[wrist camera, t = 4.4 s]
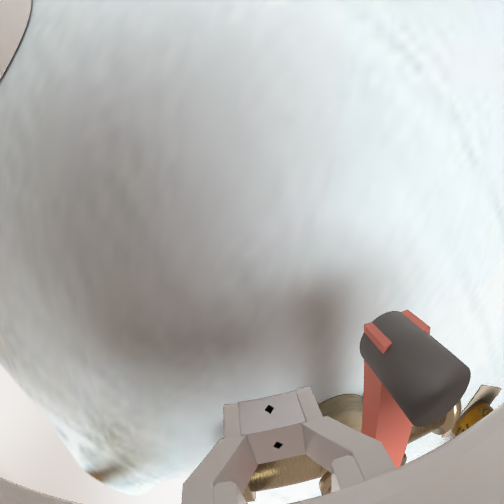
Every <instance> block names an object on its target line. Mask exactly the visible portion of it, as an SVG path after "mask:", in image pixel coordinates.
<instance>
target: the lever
mask: <svg viewBox="0 0 504 504" xmlns="http://www.w3.org/2000/svg"><path fill="white" fill-rule="evenodd" d="M360 353H361V355H362V357H363V358H364V396H363V415H362V429H361V433H363V434H365V435H367V436H369V437H372V438H374V439H376V440H378V441H380V442H382V444H383V446H384V448H385V449H386V451H387V453H388V455H389V456H390V458H391V460H392V462H393V463H394V465H395V467H396V468H398V467H400V465H401V462H402V459H403V456H404V453H405V450H406V446H407V443H408V440H409V436H410V433H411V429H412V425H414V426H416V427H423V426H427V425H430V424H432V423H434V422H436V421H437V420H439V419H441V418H442V417H443V416H445V415H446V414H447V413H448V412H449V411H450V410H451V409H452V408H453V407H454V406H455V405H456V404H457V403H458V401H459V400H460V399H461V397H462V396H463V394H464V393H465V391H466V389H467V387H468V384H469V381H470V369H469V368H468V367H467V366H466V365H465V364H464V363H463V362H461V361H460V360H459V359H458V358H457V357H456V356H454V355H453V354H452V353H451V352H450V351H449V350H447V349H446V348H445V347H444V346H443V345H441V344H440V343H439V342H438V341H437V340H435V339H434V338H433V337H432V336H431V335H430V327H429V326H428V325H427V324H425V323H424V322H423V321H422V320H420V319H419V318H418V317H416V316H415V315H414V314H413V313H411V312H410V311H409V310H405V311H403V312H398V311H392V312H387V313H385V314H382V315H381V316H379V317H378V318H376V319H375V320H374V321H373V322H371V323H368V324H365V325H364V334H363V336H362V338H361V342H360Z"/></svg>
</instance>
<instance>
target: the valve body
mask: <svg viewBox="0 0 504 504" xmlns="http://www.w3.org/2000/svg"><path fill="white" fill-rule="evenodd" d="M319 409H320V411H321V413H322V416H323V417H325V416H328V417H330V418H332V419H334V420H336V421H338V422H340V423H342V424H344V425H346V426H348V427H350V428H352V429H354V430H357V431H359V432H361V429H362V415H363V397H361V396H359V395H355V394H345V395H340V396H336V397H333V398H331V399H329V400H327V401H325V402H323V403H321V404H320V405H319ZM460 417H461V401H460V400H459V401H458V403H457V404H456V405H455V406H454V407H453V408H452V409H451V410H450V411H449V412H448V413H447V414H446V415H445V416H443V417H442V418H441V419H439V420H437V421H436V422H434V423H432V424H430V425H427V426H423V427H416V426H414V425H412V429H411V433H410V436H409V440H408V443H407V444H409V443H411V442H413V441H415V440H417V439H419V438H421V437H423V436H425V435H426V434H428V433H430V432H433V433H435V434H438V435H442V434H445V433H446V432H448V431H450V430H451V429H453V428H455V427H456V426H457V424H458V423H459V420H460ZM405 463H406V455H405V453H404V456H403V459H402V462H401V465H400V467H401V466H403V465H405ZM257 465H258V466H257V468H256V470H255V472H254V474H253V476H252V477H251V479H250V481H249V483H248V485H247V487H246V488H245V490H244V492H243V494H242V495H243V497H244V498H245V500H246V502H250V501H255V498H256V491H262V490H268V489H273V488H278V487H283V486H288V485H292V484H296V483H301V482H305V481H309V480H312V479H316V478H320V477H322V478H321V480H320V482H319V487H320V490H321V494H322V495H325V494H329V493H331V483H332V473H330V472H329V471H328V470H326V469H325V468H323V467H322V466H321V465H319V464H318V463H317V462H315V461H314V460H312V459H311V458H310V457H308V456H307V455H306V454H304V455H299V456H295V457H290V458H285V459H282V458H281V459H280V460H276V461H272V462H267V463H262V464H257Z"/></svg>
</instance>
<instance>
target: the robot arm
mask: <svg viewBox="0 0 504 504" xmlns="http://www.w3.org/2000/svg"><path fill="white" fill-rule="evenodd" d="M31 4H32V0H0V79H1V77H2V75H3V74H4V72H5V70H6V68H7V66H8V65H9V63H10V61H11V59H12V57H13V55H14V53H15V51H16V49H17V47H18V45H19V43H20V40H21V38H22V36H23V33H24V31H25V28H26V25H27V22H28V19H29V16H30V11H31ZM223 412H224V438H223V439H220V440H219V441H218V442H217V444H216V445H215V446H214V447H213V449H212V450H211V451H210V452H209V454H208V455H207V456H206V457H205V458H204V460H203V461H202V462H201V463H200V464H199V466H198V467H197V468H196V469H195V470H194V472H193V473H192V474H191V475H190V476H189V478H188V479H187V480H186V481H185V483H183V490H182V491H183V492H182V504H248V503H247V502H246V500H245V498H244V497H243V495H242V494H243V492H244V490H245V488H246V487H247V485H248V483H249V481H250V479H251V477H252V476H253V474H254V472H255V470H256V468H257V466H258V465H257V464H262V463H267V462H272V461H276V460H280V459H281V458H282V459H285V458H290V457H295V456H299V455H304V454H306V455H307V456H308V457H310V458H311V459H312V460H314V461H315V462H317V463H318V464H319V465H321V466H322V467H323V468H325V469H326V470H328V471H329V472H330V473H332V483H331V493H329V494H325V495H322V496H318V497H315V498H311V499H307V500H303V501H298V502H294V503H289V504H504V402H503V403H502V404H501V405H500V406H498V407H497V408H496V409H495V410H493V411H492V412H491V413H489V414H488V415H487V416H485V417H484V418H482V419H481V420H480V421H478V422H477V423H475V424H474V425H473V426H471V427H470V428H468V429H467V430H465V431H464V432H462V433H461V434H459V435H457V436H456V437H454V438H453V439H451V440H449V441H448V442H446V443H444V444H443V445H441V446H439V447H437V448H436V449H434V450H432V451H430V452H428V453H427V454H425V455H423V456H421V457H419V458H417V459H415V460H413V461H411V462H409V463H407V464H405V465H403V466H401V467H398V468H396V467H395V465H394V463H393V462H392V460H391V458H390V456H389V455H388V453H387V451H386V449H385V448H384V446H383V444H382V442H380V441H378V440H376V439H374V438H372V437H369V436H367V435H365V434H363V433H361V432H359V431H357V430H354V429H352V428H350V427H348V426H346V425H344V424H342V423H340V422H338V421H336V420H334V419H332V418H330V417H328V416H325V417H323V416H322V413H321V411H320V409H319V406H318V404H317V402H316V399H315V397H314V394H313V392H312V390H311V388H310V387H309V386H308V387H305V388H301V389H297V390H294V391H290V392H286V393H282V394H278V395H274V396H269V397H265V398H260V399H254V400H249V401H243V402H239V403H232V404H224V407H223ZM0 504H81V503H77V502H72V501H68V500H64V499H61V498H57V497H54V496H50V495H47V494H44V493H40V492H37V491H34V490H31V489H28V488H26V487H23V486H20V485H18V484H15V483H13V482H10V481H8V480H6V479H3V478H1V477H0Z"/></svg>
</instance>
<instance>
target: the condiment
mask: <svg viewBox="0 0 504 504" xmlns="http://www.w3.org/2000/svg"><path fill="white" fill-rule="evenodd" d="M500 390H501V388H497V387H491V386H484V385H482V386H481V388H480V389H479V391H478V392H477V394H476V395H475V396H474V398H473V400H472V401H471V402H470V403H469V405H468V406H467V407H466V408H465V410H464V411H463V412H462V413H461V417H460V420H459V423H458V424H457V426H456V427H455V428H453V429H451V430H450V431H448V432H446V433H445V434H444V435H443V437H448V436H457V435H459V434H461V433H462V432H464V431H465V430H467V429H468V428H470V427H471V426H473V425H474V424H475V423H477V422H478V421H480V420H481V419H482V418H484V417H485V416H487V415H488V414H489V413H491V412H492V411H493V409H492V408H491V407H490V406H489V405H490V404H491V403H492V401H493V400H494V398H495V397H496V396H497V395H498V393H499V392H500ZM476 400H477V401H476Z"/></svg>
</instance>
